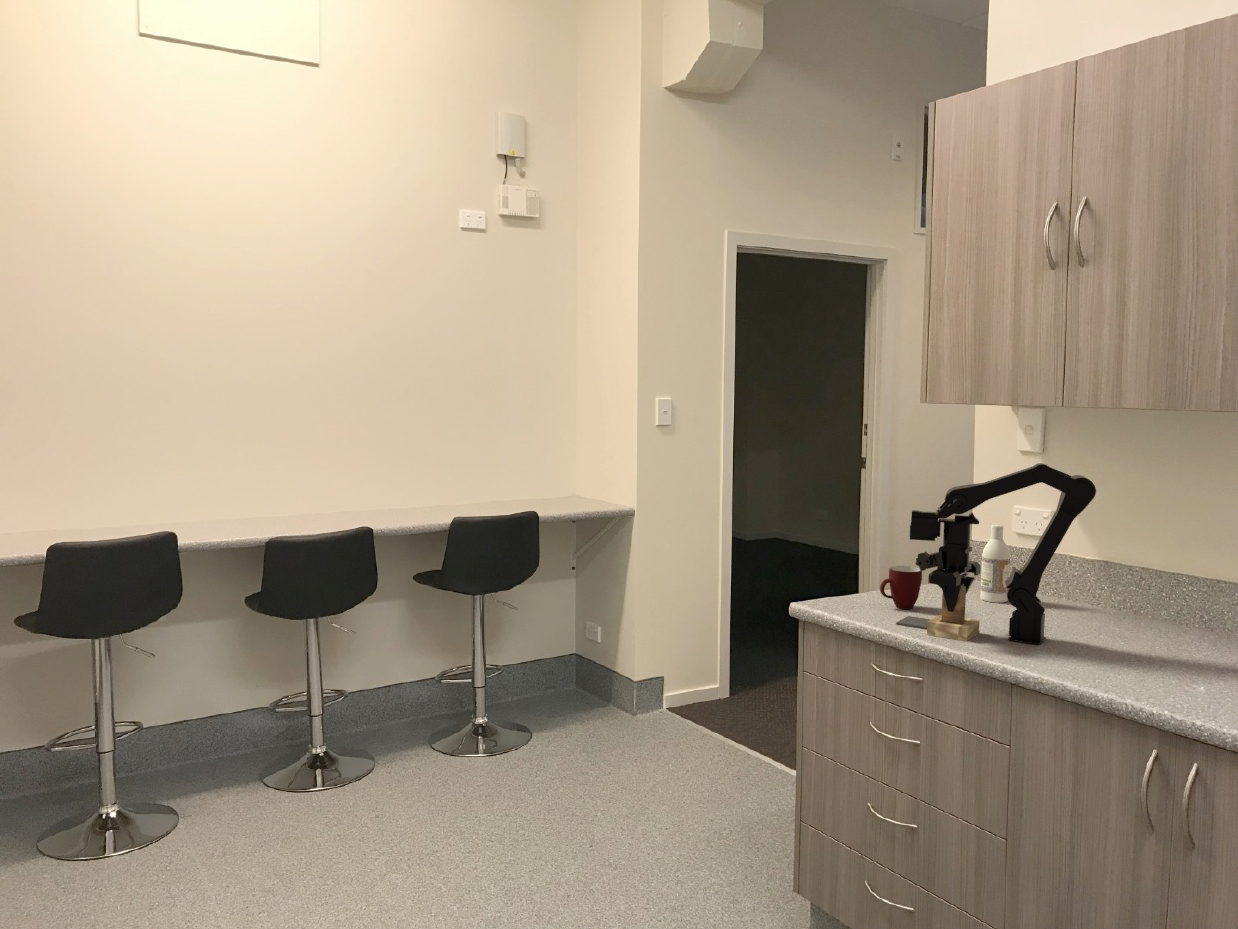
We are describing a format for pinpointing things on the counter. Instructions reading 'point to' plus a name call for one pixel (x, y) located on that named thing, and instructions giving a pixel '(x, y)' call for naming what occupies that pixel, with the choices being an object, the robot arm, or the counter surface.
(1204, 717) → the counter surface
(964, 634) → the holder
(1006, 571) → the bath foam
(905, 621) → the mat
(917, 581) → the mug
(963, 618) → the peg
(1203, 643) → the counter surface
